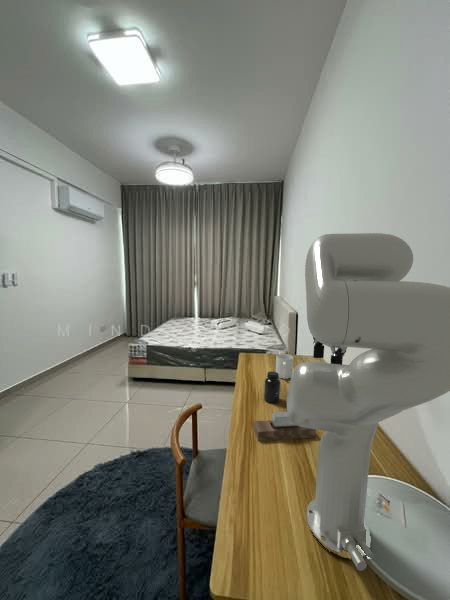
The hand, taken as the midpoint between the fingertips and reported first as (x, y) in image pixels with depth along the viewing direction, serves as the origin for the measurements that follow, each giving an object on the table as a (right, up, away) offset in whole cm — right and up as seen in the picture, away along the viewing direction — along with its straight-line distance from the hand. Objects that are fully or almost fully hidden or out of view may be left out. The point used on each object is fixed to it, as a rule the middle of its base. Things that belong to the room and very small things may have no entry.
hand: (326, 363), depth 73 cm
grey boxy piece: (-10, -27, +11) cm, 31 cm away
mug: (+1, -23, +59) cm, 63 cm away
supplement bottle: (-10, -25, +35) cm, 44 cm away
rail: (-10, -27, +12) cm, 31 cm away
